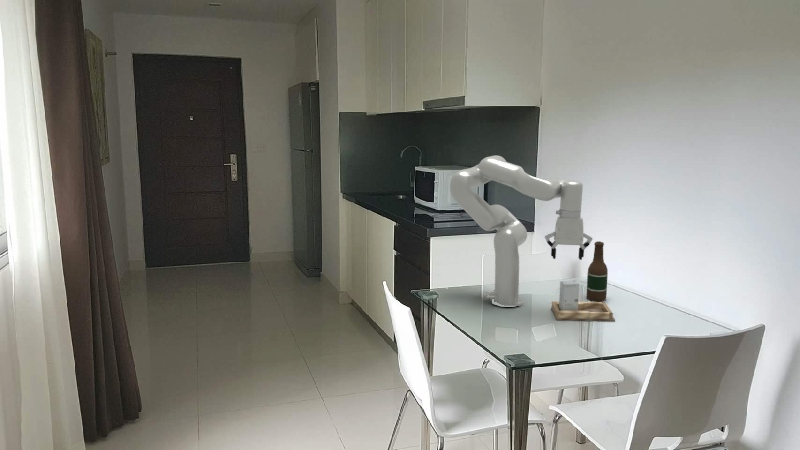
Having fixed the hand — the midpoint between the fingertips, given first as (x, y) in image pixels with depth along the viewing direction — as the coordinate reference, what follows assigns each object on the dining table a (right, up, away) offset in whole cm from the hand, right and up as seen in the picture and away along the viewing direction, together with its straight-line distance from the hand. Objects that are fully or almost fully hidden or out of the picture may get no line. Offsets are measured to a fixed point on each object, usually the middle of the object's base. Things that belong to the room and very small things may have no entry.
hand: (567, 258), depth 223 cm
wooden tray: (+6, -22, +2) cm, 23 cm away
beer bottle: (+18, -18, +20) cm, 32 cm away
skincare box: (+1, -21, +3) cm, 21 cm away
